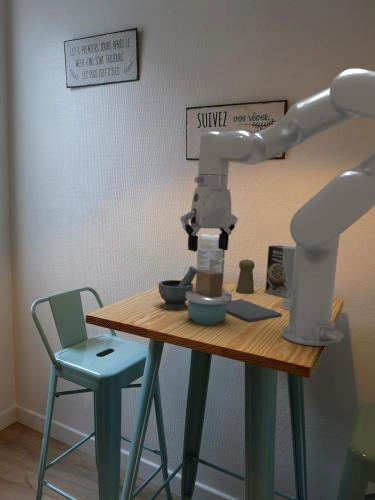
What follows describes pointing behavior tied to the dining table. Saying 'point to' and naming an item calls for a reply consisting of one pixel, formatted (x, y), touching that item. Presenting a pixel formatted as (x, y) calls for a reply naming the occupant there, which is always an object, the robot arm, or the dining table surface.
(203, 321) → the bowl
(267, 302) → the dining table surface
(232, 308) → the mat
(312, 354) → the dining table surface
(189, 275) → the mortar and pestle
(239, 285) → the olive pawn
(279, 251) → the coffee box
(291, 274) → the chalice
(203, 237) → the juice carton
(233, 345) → the dining table surface
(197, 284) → the lid
